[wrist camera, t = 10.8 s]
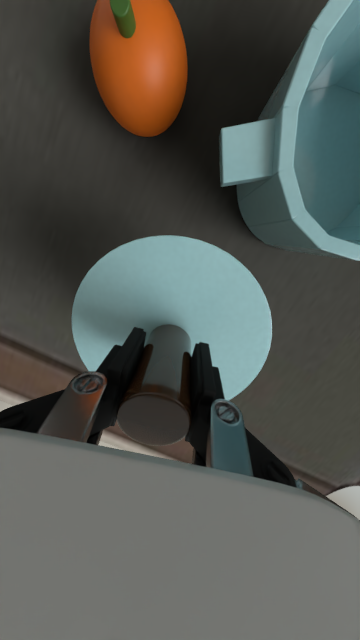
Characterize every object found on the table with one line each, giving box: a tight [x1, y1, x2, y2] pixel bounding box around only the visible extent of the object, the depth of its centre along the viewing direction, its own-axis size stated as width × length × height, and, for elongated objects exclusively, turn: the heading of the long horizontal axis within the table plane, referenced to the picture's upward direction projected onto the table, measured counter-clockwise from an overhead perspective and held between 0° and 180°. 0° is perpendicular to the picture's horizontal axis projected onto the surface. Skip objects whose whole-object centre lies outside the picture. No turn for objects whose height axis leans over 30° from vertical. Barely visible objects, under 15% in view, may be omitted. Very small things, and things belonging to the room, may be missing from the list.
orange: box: [90, 0, 188, 137], centre depth 12 cm, size 6×6×8 cm
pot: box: [219, 0, 360, 261], centre depth 13 cm, size 13×18×10 cm
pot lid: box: [72, 235, 272, 446], centre depth 11 cm, size 14×14×7 cm
